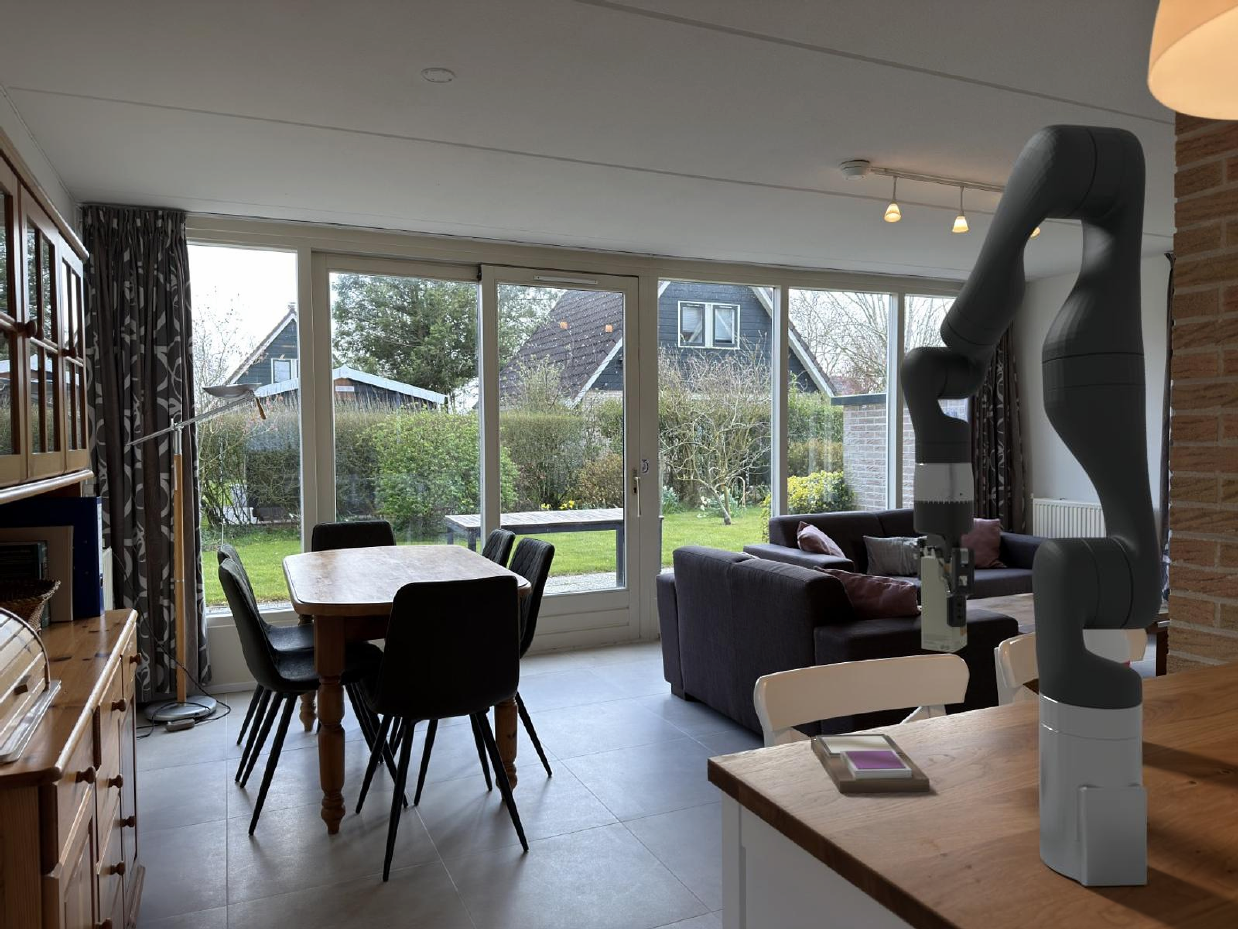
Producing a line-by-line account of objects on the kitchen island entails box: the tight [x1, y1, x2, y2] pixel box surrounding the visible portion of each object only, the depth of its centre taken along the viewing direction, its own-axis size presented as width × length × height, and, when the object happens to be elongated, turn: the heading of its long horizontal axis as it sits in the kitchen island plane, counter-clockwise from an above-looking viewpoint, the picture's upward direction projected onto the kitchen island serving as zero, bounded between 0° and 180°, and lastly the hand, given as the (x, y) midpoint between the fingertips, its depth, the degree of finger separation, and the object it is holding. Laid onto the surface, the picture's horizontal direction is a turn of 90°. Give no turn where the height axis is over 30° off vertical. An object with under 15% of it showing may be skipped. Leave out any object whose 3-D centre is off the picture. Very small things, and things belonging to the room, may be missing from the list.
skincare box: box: [920, 555, 968, 654], centre depth 116 cm, size 6×4×12 cm
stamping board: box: [810, 733, 930, 794], centre depth 115 cm, size 16×11×3 cm
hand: (944, 620), depth 116 cm, fingers closed on skincare box, 7 cm apart
